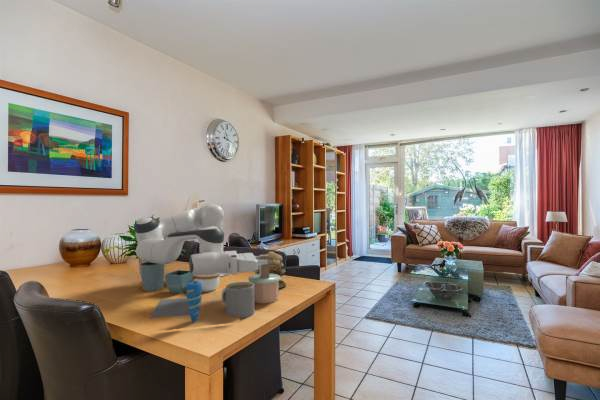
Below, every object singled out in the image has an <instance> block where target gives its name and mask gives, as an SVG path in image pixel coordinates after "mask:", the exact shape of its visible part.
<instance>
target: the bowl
mask: <svg viewBox="0 0 600 400" xmlns="http://www.w3.org/2000/svg"><path fill="white" fill-rule="evenodd" d="M253 284H254V304H258V305H259V304H260V305H265V304H267V305H268V304H272V303H276V302H277V301H278V300H279V297H280V295H279V291H280V290H279V281H278V282H275V283H270V284H255V283H253Z"/></svg>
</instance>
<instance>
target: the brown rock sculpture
mask: <svg viewBox="0 0 600 400" xmlns="http://www.w3.org/2000/svg"><path fill="white" fill-rule="evenodd" d="M267 254H268V255H269V274H277V275H279V276H280V278H281V277H283V276H284V275H285V273H286V270H285V268H284V263H283V257H282V255H280V254H277V253H275V252H274V251H269V252H268V253H267ZM256 274H260V266H258V270H256V271H254V275H256ZM286 286H287V283H286V282H285V281H284V280H281V279H280V281H279V291H281V290H283V289H285V288H286Z"/></svg>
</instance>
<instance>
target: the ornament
mask: <svg viewBox="0 0 600 400" xmlns="http://www.w3.org/2000/svg"><path fill="white" fill-rule="evenodd" d="M186 289H187V291H186V293H185V296H186V298H187V299H188V301H187V303H188V306H189V314H188V315H189V316H190V319H191V320H190V321H192V323H195V322H197V319H198V317H199V315H200V310H199V308H200V309H201V304H200V301H201V302H202V299H201V297H202V293H203V292H202V285H201V283H200V282H196V279H195V278H194V279H193V280H192V282H191V283H188V284H187V285H186ZM202 298H203V297H202Z"/></svg>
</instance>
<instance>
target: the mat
mask: <svg viewBox="0 0 600 400" xmlns="http://www.w3.org/2000/svg"><path fill="white" fill-rule="evenodd" d="M202 298H203V297H201V301H200V305H201V304H202ZM187 301H188V299H187V297H178V298H167V299H159V301H158V303H157V305H156V306H155V308H154V310H153V311H152V312H151V315H150V316H149V319H155V318H164V317H165V318H166V317H173V316H176V317H177V316H184V315H190V314H189V306H188V303H187ZM200 309H201V307H200V308H199V311H200Z"/></svg>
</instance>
